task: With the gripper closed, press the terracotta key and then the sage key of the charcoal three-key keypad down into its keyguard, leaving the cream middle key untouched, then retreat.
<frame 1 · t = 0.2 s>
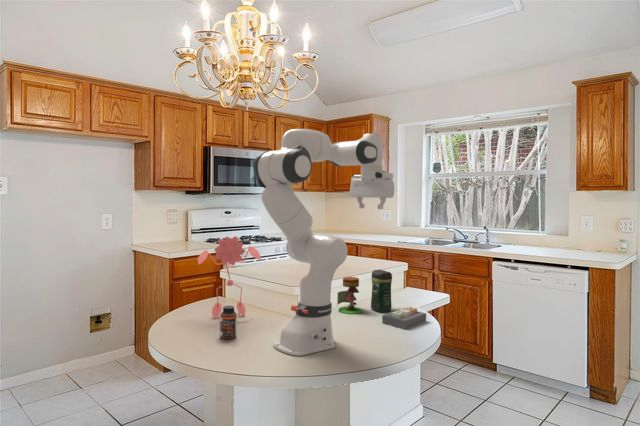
hand: (370, 208, 174), 47 cm above the counter, fingers open, 8 cm apart
red green toy sculpture: (350, 311, 196), on the counter
figurine: (229, 319, 180), on the counter
keypad: (404, 322, 179), on the counter
key mid: (404, 313, 179), point 4 cm above the counter, slide at 0.0 cm
key left: (397, 315, 176), point 4 cm above the counter, slide at 0.0 cm
coffee jar: (381, 310, 198), on the counter
supplement bottle: (228, 337, 158), on the counter
key right: (411, 311, 183), point 4 cm above the counter, slide at 0.0 cm
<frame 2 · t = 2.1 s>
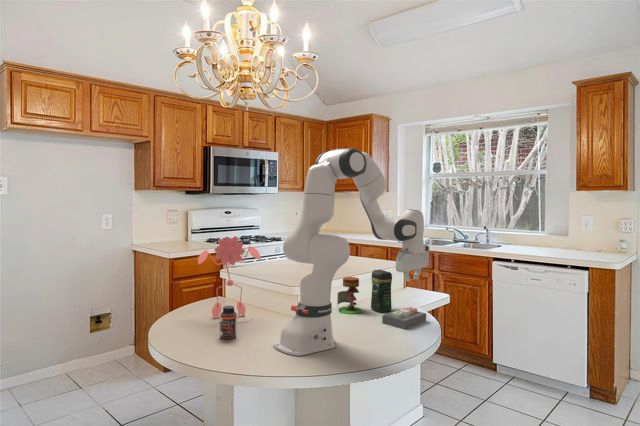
hand: (411, 280, 182), 17 cm above the counter, fingers open, 5 cm apart
nothing on the counter moved.
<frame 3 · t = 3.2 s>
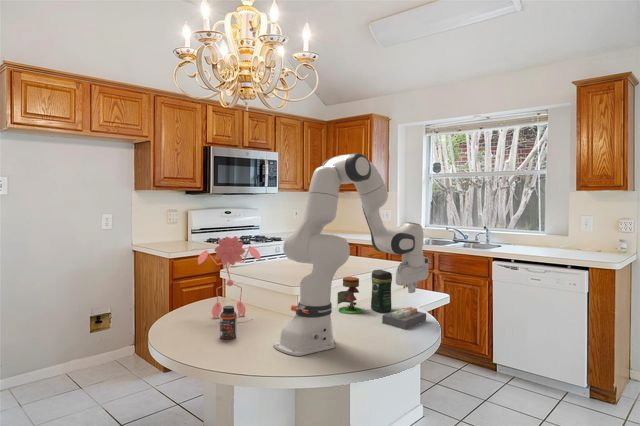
hand: (411, 292, 183), 12 cm above the counter, fingers closed
nothing on the counter moved.
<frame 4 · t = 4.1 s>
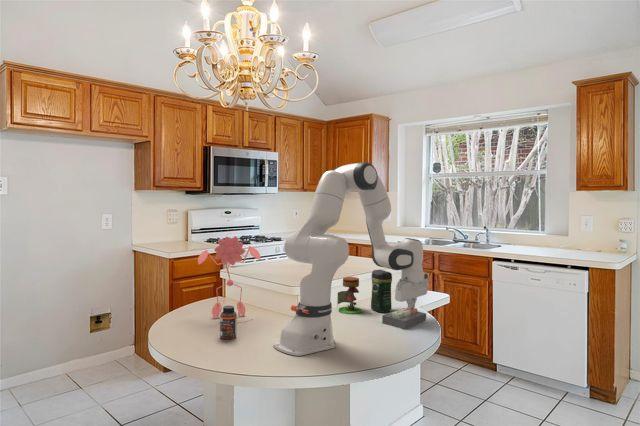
hand: (411, 308, 183), 5 cm above the counter, fingers closed, pressing on key right
key right: (411, 311, 183), point 4 cm above the counter, slide at 0.1 cm, touching gripper
everything else where it was.
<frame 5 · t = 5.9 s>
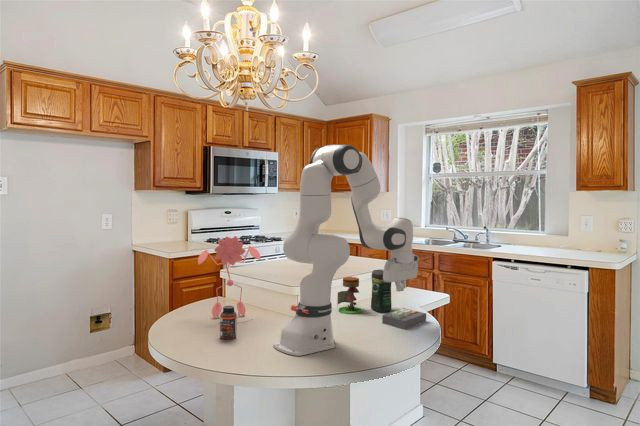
hand: (399, 291, 176), 14 cm above the counter, fingers closed
key right: (411, 314, 183), point 3 cm above the counter, slide at 1.2 cm
everything else where it was.
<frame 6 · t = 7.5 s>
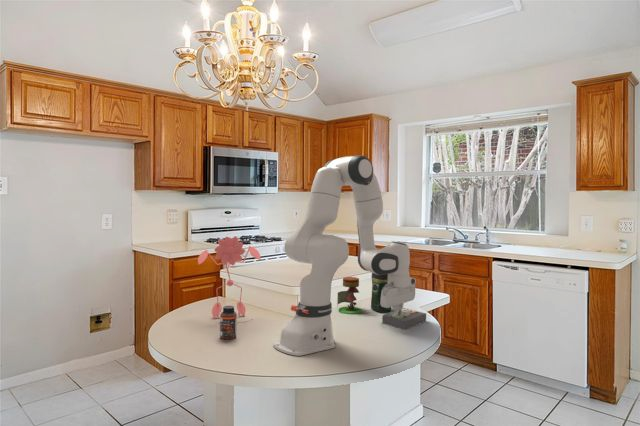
hand: (397, 314, 176), 4 cm above the counter, fingers closed, pressing on key left
key left: (397, 317, 176), point 3 cm above the counter, slide at 1.0 cm, touching gripper
everything else where it was.
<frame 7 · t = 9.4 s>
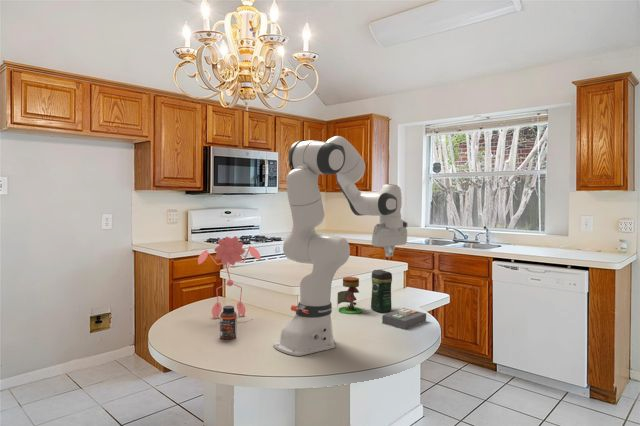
hand: (389, 256, 179), 28 cm above the counter, fingers closed
key left: (397, 318, 176), point 3 cm above the counter, slide at 1.3 cm
everything else where it was.
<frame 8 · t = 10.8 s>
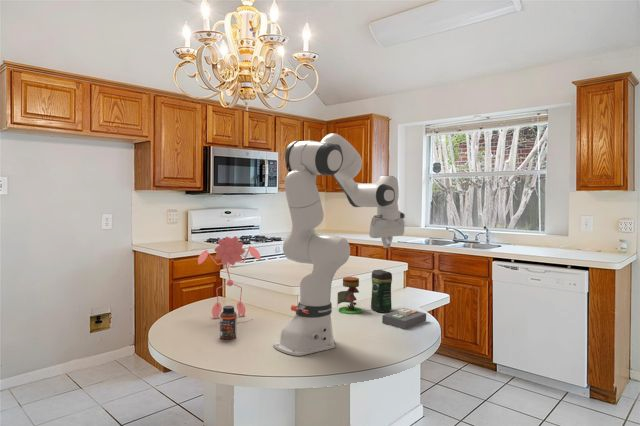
hand: (386, 247, 180), 31 cm above the counter, fingers closed
nothing on the counter moved.
at the end: key right slide at 1.2 cm; key left slide at 1.3 cm; key mid slide at 0.0 cm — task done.
